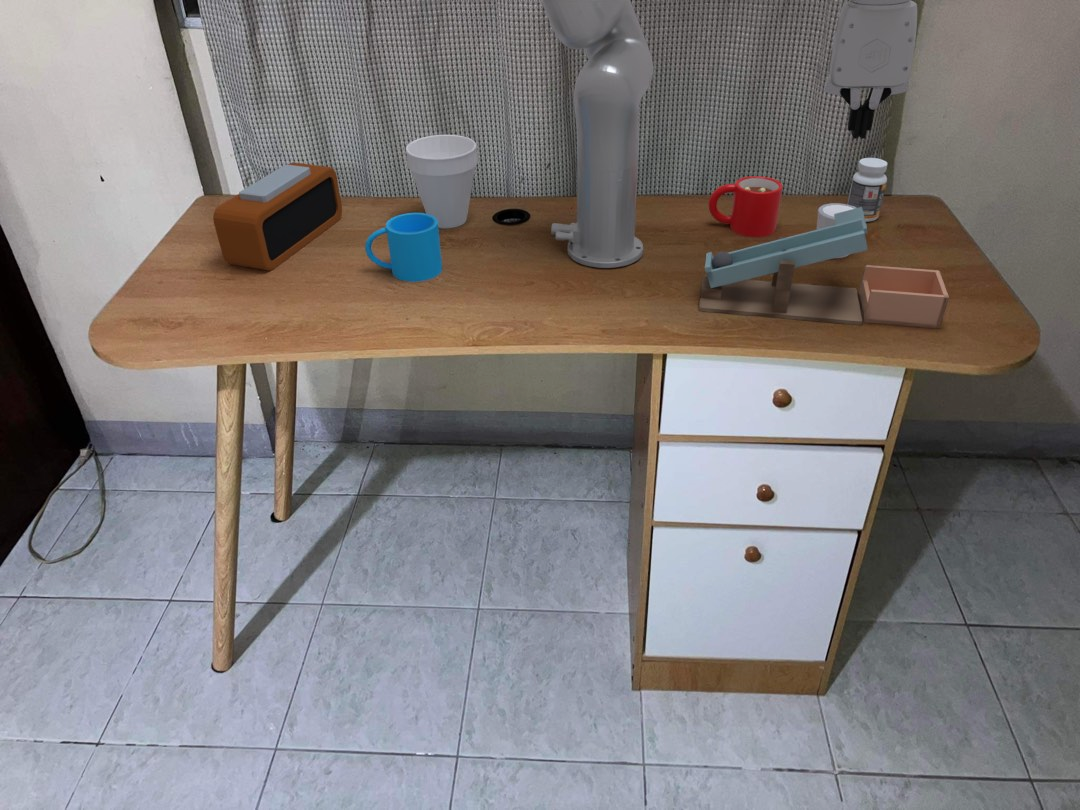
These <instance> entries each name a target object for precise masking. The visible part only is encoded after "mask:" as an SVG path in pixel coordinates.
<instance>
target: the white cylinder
mask: <svg viewBox="0 0 1080 810" xmlns="http://www.w3.org/2000/svg"><path fill="white" fill-rule="evenodd" d="M855 208H856V207H854V206H851V205H847V204H846V203H839V202H837V203H835V202H833V203H825V204H822V205H821V206H819V208H818V210H817V220H816V229H815V230H817V229H821V228H825V227H829V226H833V225H836V223H835V217H834V214H836V213H840V212H844V211H848V210H852V209H855ZM848 256H849V255H845V256H841V257H837V258H836V259H842V258H846V257H848Z"/></svg>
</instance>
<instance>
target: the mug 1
mask: <svg viewBox="0 0 1080 810" xmlns="http://www.w3.org/2000/svg"><path fill="white" fill-rule="evenodd" d="M383 234H387V242H388V243H387V244H388V250H389V258H390V262H386V261H383V260H381V259H379V258H378V257H376V255H375V254H374V253H373V250H372V244H373V242H374V240H375V239H377V238H378V237H379V236H382V235H383ZM364 248H365V253H366V256H367V257H368V258H369V260H370V261H371V262H373V264H376V265H377V266H379V267H382V268H384V269H388V270H391V271H392V275H393V276H394V278H395V279H398V280H400V281H404V282H409V283H410V282H411V283H412V282H414V283H415V282H417V283H418V282H424V281H427V280H432V279H434V278H436V277H438V276H439V275H440V274H441V273H442V271H443V261H442V252H441V251H442V250H441V249H442V248H441V239H440V228H438V221H437V219H436V218H435V217H434V216H432V215H429V214H426V213H423V212H409V213H408V212H407V213H403V214H399V215H396V216H394V217H391V218H390V219H388V220H387V222H386V223H385V227H382V228H380V229H377V230H375V231H374V232H373V233H372V234H370V235H369V236H368V238H367V240H366V241H365V247H364Z"/></svg>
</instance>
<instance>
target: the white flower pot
mask: <svg viewBox="0 0 1080 810" xmlns="http://www.w3.org/2000/svg"><path fill="white" fill-rule="evenodd" d="M477 146H478V145H477V143H476V142H475V140H473V139H472V138H470V137H467V136H465V135H464V136H463V135H457V134H435V135H428V136H423V137H419V138H418V139H415V140H412V141H410V142H409V143H408V144H407V145H406V148H405V152H406V165H407V166H406V167H407V168H408V169H409V170H410V172H411V175H412V177H413V181H414V183H415V185H416V188H417V191H418V194H419V198H420V201H421V202H422V205H423V209H424V211H425V214H429V215H432V216H434V217H435V218H436V219H437V221H438V229H453V228H457V227H460V226H463V225H464V224H465V223H466V222H467V220H468V213H469V206H470V201H471V196H472V188H473V183H474V176H475V170H476V166H477V165H478V164H479V163H478V162H479V159H478V151H477Z"/></svg>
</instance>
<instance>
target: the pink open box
mask: <svg viewBox="0 0 1080 810" xmlns="http://www.w3.org/2000/svg"><path fill="white" fill-rule="evenodd" d="M942 277H943V276H942V274H941V271H940V270H939V269H937V270H936V269H924V268H909V267H899V266H898V267H896V266H885V265H871V264H870V265H869V264H865V267H864V270H863V276H862V278H861V279H862V280H861V284H860V287H859V293H858V300H859V305H860V310H861V316H862V321H863V322H864V323H869V324H878V325H879V324H880V325H890V326H891V325H892V326H903V327H914V328H915V327H916V328H927V329H937V330H939V329H941V325H942V321H943V318H944V316H945V313H946V310H947V306H948V303H949V299H950V296H949V294H948V291H947V289H946V288H947V287H946V285H945V283H944V280H943V278H942Z"/></svg>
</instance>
